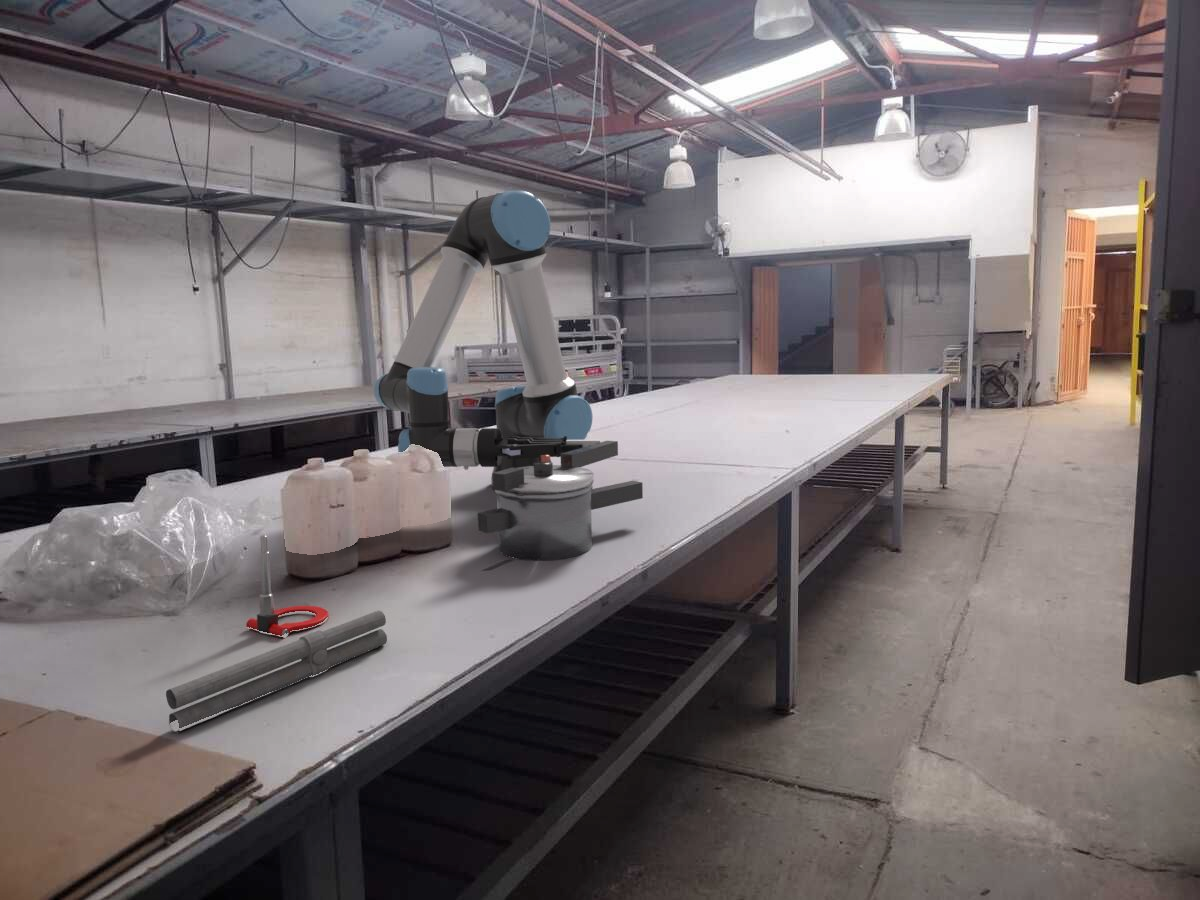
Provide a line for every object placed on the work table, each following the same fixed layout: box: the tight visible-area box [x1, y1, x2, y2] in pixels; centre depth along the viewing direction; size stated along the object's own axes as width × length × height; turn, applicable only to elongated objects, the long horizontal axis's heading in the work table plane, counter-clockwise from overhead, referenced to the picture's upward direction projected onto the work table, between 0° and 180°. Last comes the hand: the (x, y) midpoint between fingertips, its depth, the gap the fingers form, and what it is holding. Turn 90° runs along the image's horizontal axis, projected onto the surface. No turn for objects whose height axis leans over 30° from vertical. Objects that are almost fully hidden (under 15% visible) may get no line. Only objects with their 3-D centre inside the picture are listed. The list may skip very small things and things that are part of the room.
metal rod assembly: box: [165, 610, 388, 728], centre depth 89 cm, size 26×3×5 cm, turn 144°
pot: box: [477, 480, 644, 562], centre depth 141 cm, size 26×26×11 cm
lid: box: [491, 440, 619, 494], centre depth 141 cm, size 35×17×4 cm, turn 148°
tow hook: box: [245, 534, 329, 636], centre depth 106 cm, size 8×13×9 cm
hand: (600, 447), depth 155 cm, fingers closed
